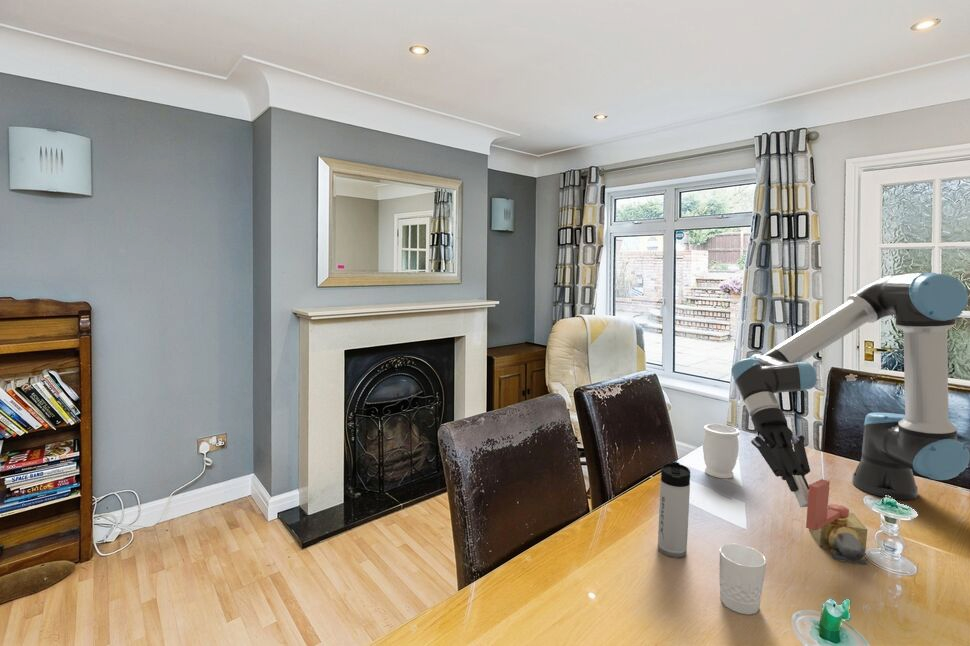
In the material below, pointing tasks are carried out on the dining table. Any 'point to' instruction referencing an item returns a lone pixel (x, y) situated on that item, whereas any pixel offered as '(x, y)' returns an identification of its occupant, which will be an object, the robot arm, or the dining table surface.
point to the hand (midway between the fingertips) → (807, 505)
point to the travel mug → (674, 510)
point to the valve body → (843, 539)
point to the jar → (720, 449)
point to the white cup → (741, 578)
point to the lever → (822, 506)
